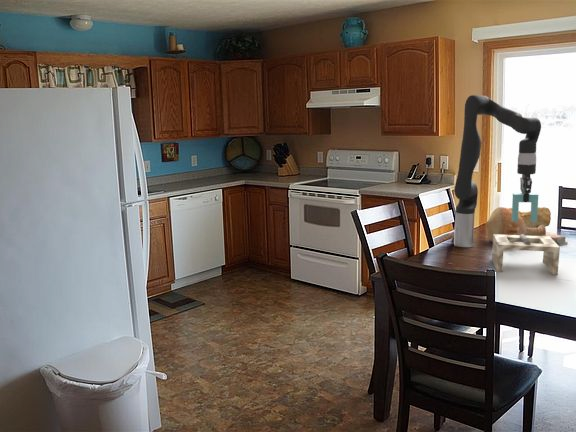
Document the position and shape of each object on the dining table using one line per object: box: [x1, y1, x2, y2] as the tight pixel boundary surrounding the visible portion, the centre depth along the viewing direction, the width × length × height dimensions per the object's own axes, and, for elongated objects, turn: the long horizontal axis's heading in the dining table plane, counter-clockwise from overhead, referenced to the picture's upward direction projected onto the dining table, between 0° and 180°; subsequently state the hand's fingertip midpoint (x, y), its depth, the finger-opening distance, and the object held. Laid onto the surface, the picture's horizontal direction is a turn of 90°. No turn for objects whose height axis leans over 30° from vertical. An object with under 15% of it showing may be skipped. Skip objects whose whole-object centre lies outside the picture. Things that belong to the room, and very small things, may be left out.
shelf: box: [491, 234, 561, 276], centre depth 245 cm, size 24×20×13 cm
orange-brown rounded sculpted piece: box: [485, 206, 547, 243], centre depth 288 cm, size 20×19×30 cm
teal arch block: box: [511, 192, 539, 222], centre depth 250 cm, size 10×4×12 cm, turn 78°
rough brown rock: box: [508, 206, 552, 228], centre depth 313 cm, size 23×16×15 cm
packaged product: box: [546, 231, 569, 246], centre depth 291 cm, size 18×5×10 cm
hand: (525, 201), depth 250 cm, fingers closed on teal arch block, 4 cm apart
